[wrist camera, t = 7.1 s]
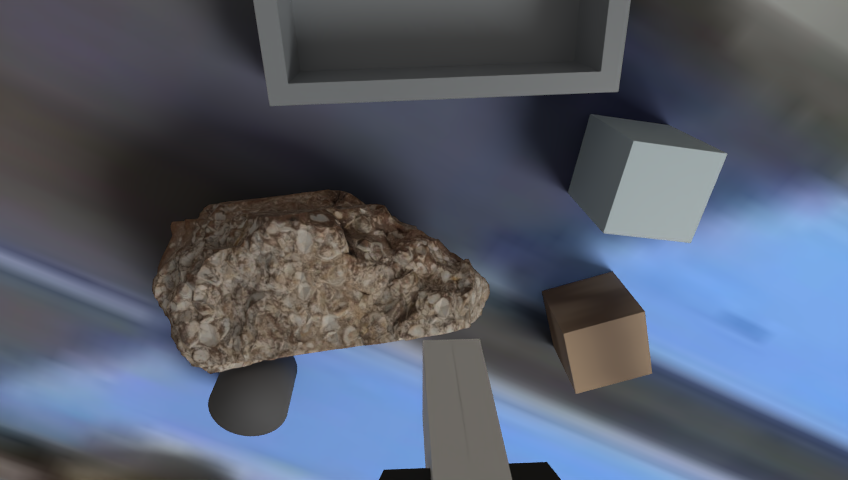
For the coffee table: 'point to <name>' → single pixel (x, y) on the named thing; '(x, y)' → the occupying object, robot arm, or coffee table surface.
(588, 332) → the walnut cube
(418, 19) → the grey tray
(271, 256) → the rock
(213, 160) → the coffee table surface
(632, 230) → the bluegrey block
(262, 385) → the dark grey cylinder
